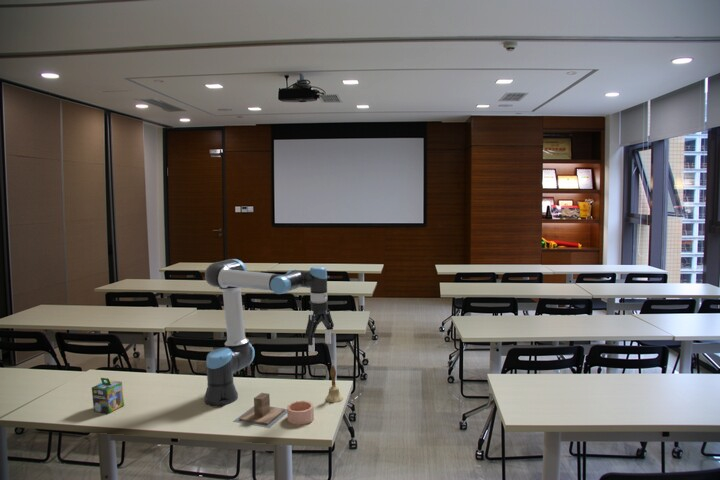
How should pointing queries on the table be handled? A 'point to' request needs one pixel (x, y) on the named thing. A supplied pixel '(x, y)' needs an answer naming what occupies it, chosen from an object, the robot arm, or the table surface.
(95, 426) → the table surface
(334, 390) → the hand bell
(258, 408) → the walnut lid
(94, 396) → the chalk box
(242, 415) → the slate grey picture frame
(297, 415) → the terracotta bowl
